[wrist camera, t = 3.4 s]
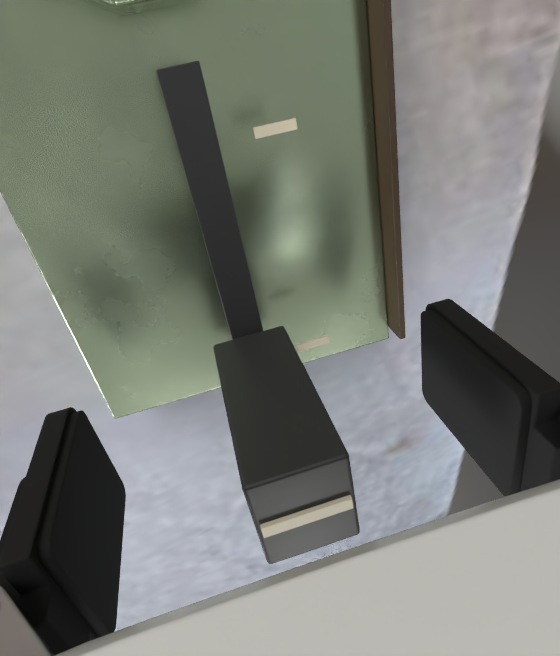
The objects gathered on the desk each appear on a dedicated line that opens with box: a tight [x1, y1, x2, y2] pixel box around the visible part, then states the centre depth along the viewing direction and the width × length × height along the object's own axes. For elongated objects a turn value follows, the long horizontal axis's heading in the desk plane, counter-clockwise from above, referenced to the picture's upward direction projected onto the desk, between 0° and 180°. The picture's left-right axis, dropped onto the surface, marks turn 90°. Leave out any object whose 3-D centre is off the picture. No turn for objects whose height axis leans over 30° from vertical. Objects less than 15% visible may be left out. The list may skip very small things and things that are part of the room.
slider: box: [213, 326, 359, 564], centre depth 11 cm, size 2×2×5 cm
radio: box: [0, 0, 389, 419], centre depth 12 cm, size 10×17×5 cm, turn 10°
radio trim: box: [156, 0, 405, 352], centre depth 13 cm, size 6×12×4 cm, turn 10°
